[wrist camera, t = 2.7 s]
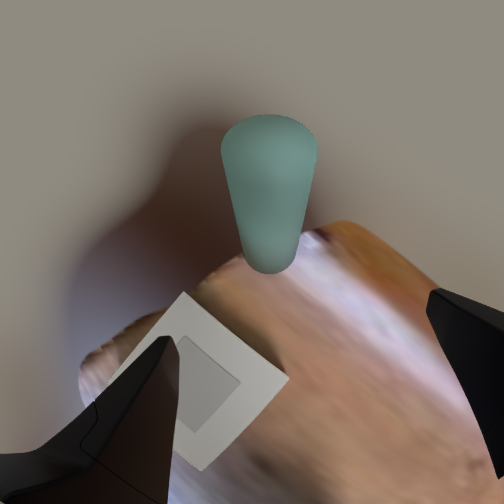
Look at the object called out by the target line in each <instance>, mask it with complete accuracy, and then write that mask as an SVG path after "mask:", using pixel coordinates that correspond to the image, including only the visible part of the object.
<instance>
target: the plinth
mask: <svg viewBox="0 0 504 504" xmlns="http://www.w3.org/2000/svg"><path fill="white" fill-rule="evenodd" d="M167 335H170V336H171V337H172V338H173V340H174V343H175V345H176V348H177V350H178V352H179V356H180V370H179V401H178V409H177V417H176V424H175V432H174V441H173V450H174V451H175V452H176V453H178V454H179V455H180V456H181V457H182V458H184V459H185V460H186V461H187V462H189V463H190V464H191V465H192V466H194V467H195V468H196V469H198V470H199V471H200V472H202V471H203V470H204V469H205V468H206V467H207V466H208V465H209V464H210V463H212V462H213V461H214V460H215V459H216V458H217V457H218V456H219V455H220V454H221V453H222V452H223V451H224V450H225V449H226V448H227V447H228V446H229V445H230V444H231V443H232V442H233V441H234V440H235V439H236V438H237V437H238V436H239V435H240V434H241V433H242V432H243V431H244V430H245V429H246V428H247V427H248V425H249V424H250V423H251V422H252V421H253V420H254V419H255V418H256V417H257V416H258V415H259V414H260V412H261V411H262V410H263V409H264V408H265V407H266V406H267V405H268V403H269V402H270V401H271V400H272V399H273V398H274V397H275V395H276V394H277V393H278V392H279V391H280V390H281V388H282V387H283V386H284V385H285V384H286V382H287V381H288V380H289V379H290V377H289V376H288V375H286V374H285V373H284V372H282V371H281V370H280V369H278V368H277V367H276V366H274V365H273V364H272V363H270V362H269V361H268V360H266V359H265V358H264V357H263V356H261V355H260V354H259V353H257V352H256V351H255V350H254V349H252V348H251V347H250V346H249V345H247V344H246V343H245V342H244V341H242V340H241V339H240V338H239V337H237V336H236V335H235V334H234V333H233V332H231V331H230V330H229V329H228V328H227V327H225V326H224V325H223V324H222V323H221V322H219V321H218V320H217V319H216V318H215V317H213V316H212V315H211V314H210V313H209V312H208V311H206V310H205V309H204V308H203V307H202V306H201V305H199V304H198V303H197V302H196V301H195V300H194V299H192V298H191V297H190V296H189V295H188V294H186V293H185V292H184V291H183V293H182V294H181V295H180V296H179V297H178V298H177V300H176V301H175V302H174V303H173V304H172V305H171V306H170V308H169V309H168V310H167V311H166V312H165V313H164V315H163V316H162V317H161V318H160V319H159V321H158V322H157V323H156V324H155V325H154V326H153V328H152V329H151V330H150V331H149V332H148V334H147V335H146V336H145V337H144V338H143V340H142V341H141V342H140V343H139V344H138V346H137V347H136V348H135V349H134V350H133V352H132V353H131V354H130V355H129V356H128V358H127V359H126V360H125V361H124V362H123V364H122V365H121V366H120V367H119V368H118V370H117V371H116V372H115V373H114V375H113V376H112V377H111V378H110V380H109V381H108V382H107V384H108V385H110V384H111V383H112V382H113V381H114V380H115V379H116V378H117V377H118V376H119V375H120V374H121V373H122V372H123V371H124V370H125V369H126V368H127V367H128V366H129V365H130V364H131V363H132V362H133V361H134V360H135V359H136V358H137V357H138V356H139V355H140V354H141V353H142V352H143V351H144V350H145V349H146V348H147V347H148V346H149V345H150V344H151V343H152V342H154V341H155V340H156V339H157V338H158V337H159V336H167Z"/></svg>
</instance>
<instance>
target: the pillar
mask: <svg viewBox="0 0 504 504" xmlns="http://www.w3.org/2000/svg"><path fill="white" fill-rule="evenodd" d="M317 154H318V146H317V142H316V140H315V138H314V136H313V134H312V133H311V132H310V130H308V129H307V128H306V127H305V126H304V125H303V124H301V123H300V122H298V121H296V120H294V119H291V118H288V117H285V116H280V115H258V116H253V117H250V118H247V119H245V120H242V121H240V122H239V123H237V124H235V125H234V126H233V127H232V128H231V129H230V130H229V131H228V132H227V133H226V135H225V136H224V138H223V140H222V143H221V156H222V161H223V165H224V170H225V174H226V178H227V183H228V187H229V192H230V196H231V201H232V205H233V209H234V213H235V218H236V222H237V227H238V231H239V235H240V240H241V244H242V248H243V253H244V256H245V259H246V261H247V263H248V264H249V265H250V266H251V267H252V268H253V269H255V270H256V271H258V272H261V273H265V274H275V273H279V272H281V271H283V270H285V269H286V268H288V267H289V266H290V265H291V263H292V262H293V260H294V258H295V255H296V251H297V246H298V242H299V238H300V234H301V229H302V225H303V220H304V216H305V211H306V207H307V203H308V198H309V193H310V188H311V184H312V179H313V174H314V169H315V165H316V160H317Z"/></svg>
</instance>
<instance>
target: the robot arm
mask: <svg viewBox="0 0 504 504" xmlns="http://www.w3.org/2000/svg"><path fill="white" fill-rule="evenodd" d="M426 314H427V317H428V319H429V321H430V323H431V325H432V327H433V330H434V332H435V334H436V336H437V339H438V341H439V343H440V346H441V348H442V350H443V352H444V353H445V355H446V357H447V359H448V361H449V363H450V365H451V367H452V369H453V370H454V372H455V374H456V376H457V378H458V380H459V382H460V384H461V387H462V389H463V391H464V393H465V395H466V397H467V399H468V401H469V404H470V406H471V408H472V410H473V413H474V415H475V417H476V420H477V422H478V425H479V427H480V429H481V432H482V435H483V437H484V440H485V443H486V445H487V448H488V451H489V454H490V457H491V460H492V463H493V466H494V469H495V472H496V475H497V478H498V479H500V478H501V477H503V476H504V312H501V311H498V310H496V309H494V308H491V307H489V306H486V305H483V304H481V303H479V302H476V301H474V300H471V299H468V298H466V297H463V296H461V295H458V294H455V293H453V292H450V291H447V290H445V289H442V288H437V289H434V290H432V291H431V292H430V294H429V298H428V303H427V307H426ZM179 370H180V356H179V352H178V350H177V348H176V345H175V343H174V340H173V338H172V337H171V336H170V335H167V336H159V337H158V338H157V339H156V340H155V341H154V342H152V343H151V344H150V345H149V346H148V347H147V348H146V349H145V350H144V351H143V352H142V353H141V354H140V355H139V356H138V357H137V358H136V359H135V360H134V361H133V362H132V363H131V364H130V365H129V366H128V367H127V368H126V369H125V370H124V371H123V372H122V373H121V374H120V375H119V376H118V377H117V378H116V379H115V380H114V381H113V382H112V383H111V384H110V385H109V386H108V387H107V388H106V389H105V390H104V391H103V392H102V393H101V394H100V395H99V396H98V397H97V398H96V399H95V401H93V402H92V403H91V404H90V405H89V406H88V407H87V408H86V409H85V410H84V411H83V412H82V413H81V414H80V415H79V416H78V417H76V418H75V419H74V420H73V421H72V422H71V423H69V424H68V425H67V426H66V427H65V428H64V429H62V430H61V431H60V432H59V433H57V434H56V435H55V436H54V437H52V438H51V439H50V440H49V441H48V442H46V443H45V444H44V445H43V446H41V447H40V448H38V449H36V450H33V451H30V452H25V453H13V454H0V504H167V502H168V489H169V478H170V468H171V458H172V449H173V441H174V432H175V424H176V417H177V409H178V401H179Z"/></svg>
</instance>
